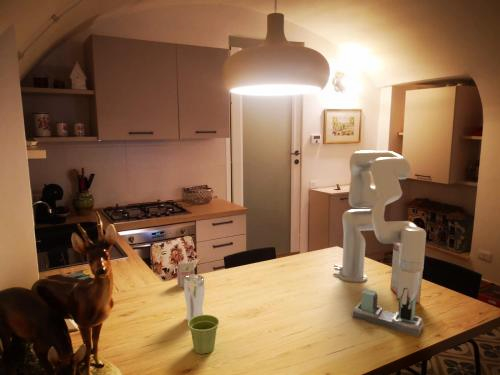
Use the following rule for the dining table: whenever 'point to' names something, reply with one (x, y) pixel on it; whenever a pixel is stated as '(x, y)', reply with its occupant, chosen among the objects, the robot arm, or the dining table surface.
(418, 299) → the cracker box
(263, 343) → the dining table surface
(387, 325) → the grey compartment tray
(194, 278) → the beer glass
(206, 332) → the plant pot
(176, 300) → the dining table surface
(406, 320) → the pale teal block
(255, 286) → the dining table surface
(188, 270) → the tea bag
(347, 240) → the robot arm
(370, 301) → the teal rectangular block
